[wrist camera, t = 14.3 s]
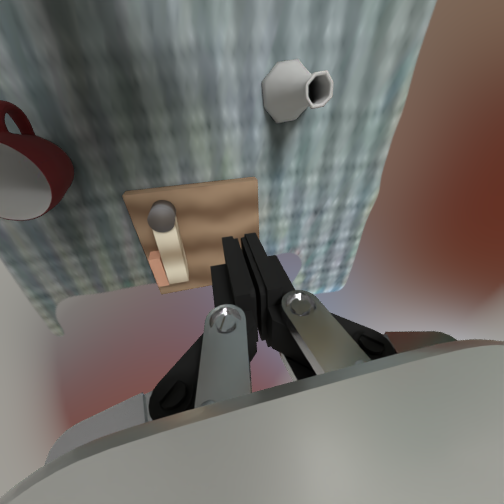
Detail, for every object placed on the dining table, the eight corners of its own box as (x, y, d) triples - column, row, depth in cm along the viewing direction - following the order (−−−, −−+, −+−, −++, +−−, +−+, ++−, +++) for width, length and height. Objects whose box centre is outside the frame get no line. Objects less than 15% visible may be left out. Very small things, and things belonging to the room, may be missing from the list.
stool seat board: (125, 191, 33) (122, 195, 32) (254, 176, 36) (257, 180, 35) (162, 287, 45) (161, 294, 43) (258, 270, 48) (260, 276, 46)
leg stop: (150, 251, 37) (148, 259, 35) (161, 250, 38) (159, 258, 36) (160, 278, 41) (158, 287, 39) (170, 276, 41) (169, 285, 39)
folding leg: (148, 201, 33) (143, 210, 30) (173, 198, 33) (171, 207, 30) (169, 272, 40) (168, 285, 38) (189, 269, 41) (189, 282, 38)
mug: (-20, 102, 25) (-121, 103, 17) (60, 98, 26) (1, 97, 18) (37, 193, 31) (-17, 226, 23) (99, 186, 32) (69, 215, 24)
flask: (273, 132, 33) (299, 142, 25) (252, 77, 29) (275, 68, 21) (316, 106, 33) (357, 108, 25) (301, 46, 28) (344, 25, 20)
